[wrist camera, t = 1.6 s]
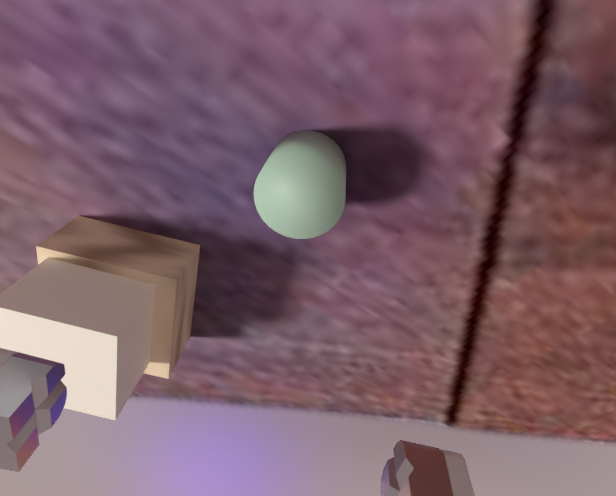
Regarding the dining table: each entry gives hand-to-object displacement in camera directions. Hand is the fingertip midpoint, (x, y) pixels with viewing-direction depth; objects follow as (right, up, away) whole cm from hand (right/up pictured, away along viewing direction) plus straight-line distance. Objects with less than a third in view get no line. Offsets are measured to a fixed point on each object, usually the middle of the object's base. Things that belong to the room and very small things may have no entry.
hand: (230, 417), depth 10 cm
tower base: (-11, +2, +23) cm, 26 cm away
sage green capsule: (+2, +9, +17) cm, 19 cm away
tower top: (-12, 0, +18) cm, 22 cm away
